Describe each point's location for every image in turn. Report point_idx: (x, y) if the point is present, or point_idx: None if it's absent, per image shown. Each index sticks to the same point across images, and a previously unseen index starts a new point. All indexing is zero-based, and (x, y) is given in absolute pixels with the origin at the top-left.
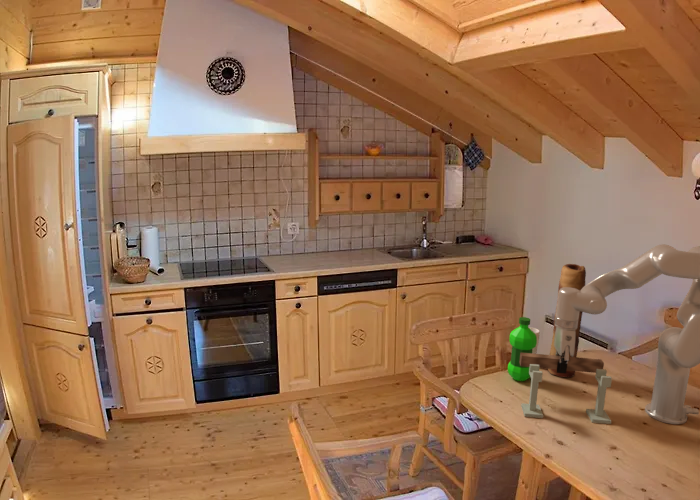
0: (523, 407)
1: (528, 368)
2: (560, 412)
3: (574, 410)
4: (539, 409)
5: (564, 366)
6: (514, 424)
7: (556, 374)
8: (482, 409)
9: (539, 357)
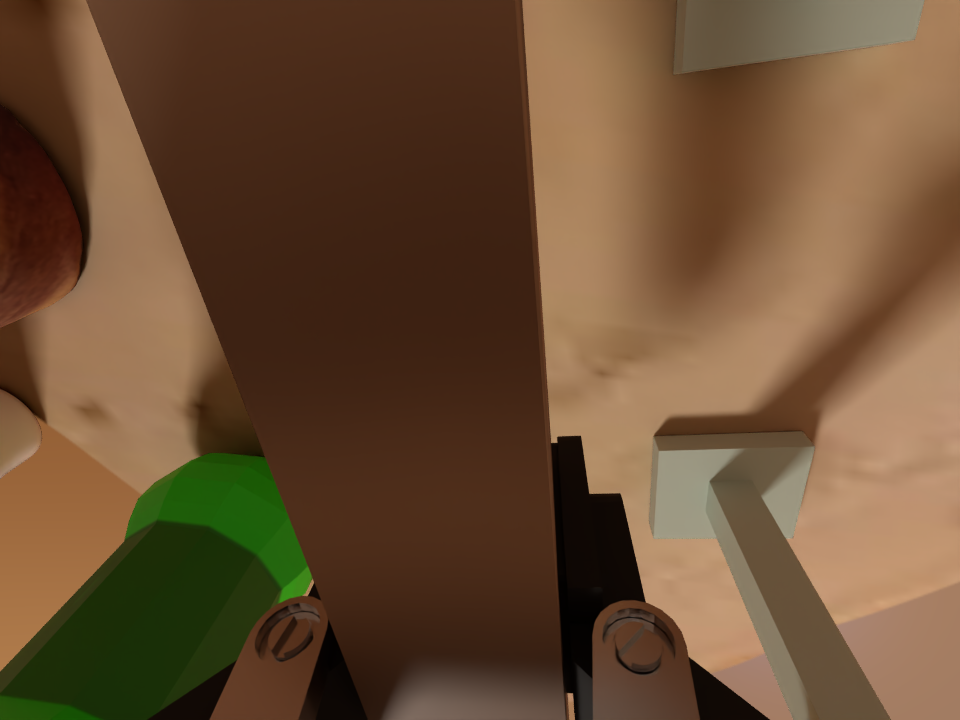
0: (710, 536)
1: (251, 538)
2: (706, 305)
3: (658, 185)
4: (731, 457)
5: (638, 577)
6: (876, 574)
7: (74, 259)
8: (709, 669)
9: None
